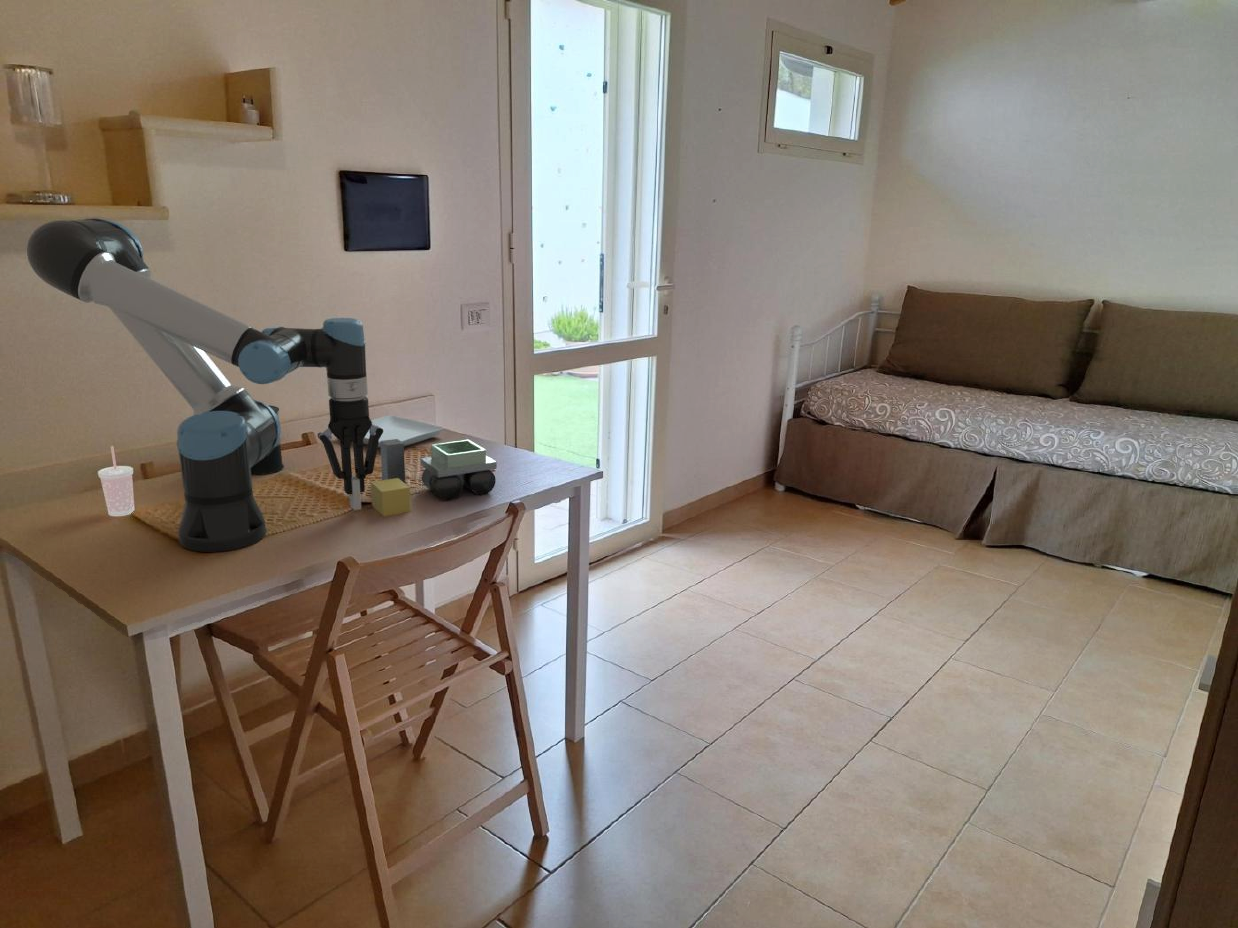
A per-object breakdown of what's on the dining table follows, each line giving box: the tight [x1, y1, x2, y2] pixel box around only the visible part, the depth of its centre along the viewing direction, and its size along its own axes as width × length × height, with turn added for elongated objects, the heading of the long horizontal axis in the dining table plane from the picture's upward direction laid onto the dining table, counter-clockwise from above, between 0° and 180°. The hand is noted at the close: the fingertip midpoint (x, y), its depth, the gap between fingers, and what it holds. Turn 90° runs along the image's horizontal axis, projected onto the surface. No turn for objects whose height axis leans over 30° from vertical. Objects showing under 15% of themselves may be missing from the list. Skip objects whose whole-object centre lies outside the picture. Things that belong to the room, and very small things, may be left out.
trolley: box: [420, 439, 498, 502], centre depth 187 cm, size 14×10×11 cm
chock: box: [370, 478, 412, 517], centre depth 176 cm, size 6×7×6 cm
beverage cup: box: [97, 445, 135, 517], centre depth 166 cm, size 6×6×14 cm
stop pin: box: [380, 439, 406, 484], centre depth 187 cm, size 4×4×11 cm
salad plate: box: [363, 414, 445, 449], centre depth 226 cm, size 21×21×3 cm
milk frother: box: [251, 404, 284, 475], centre depth 194 cm, size 14×16×15 cm
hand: (355, 507), depth 172 cm, fingers closed
